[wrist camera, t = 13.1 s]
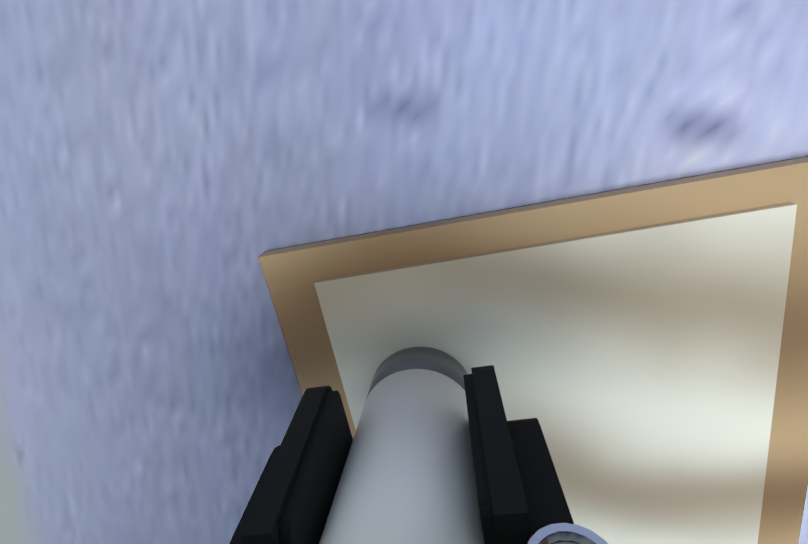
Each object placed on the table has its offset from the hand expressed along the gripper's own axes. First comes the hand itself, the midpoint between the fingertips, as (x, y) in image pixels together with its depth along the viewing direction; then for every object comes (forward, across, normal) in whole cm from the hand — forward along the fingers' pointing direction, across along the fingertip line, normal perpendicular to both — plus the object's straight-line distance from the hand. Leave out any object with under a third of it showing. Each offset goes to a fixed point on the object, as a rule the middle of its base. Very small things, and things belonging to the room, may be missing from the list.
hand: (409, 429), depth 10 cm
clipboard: (+4, -4, +6) cm, 8 cm away
